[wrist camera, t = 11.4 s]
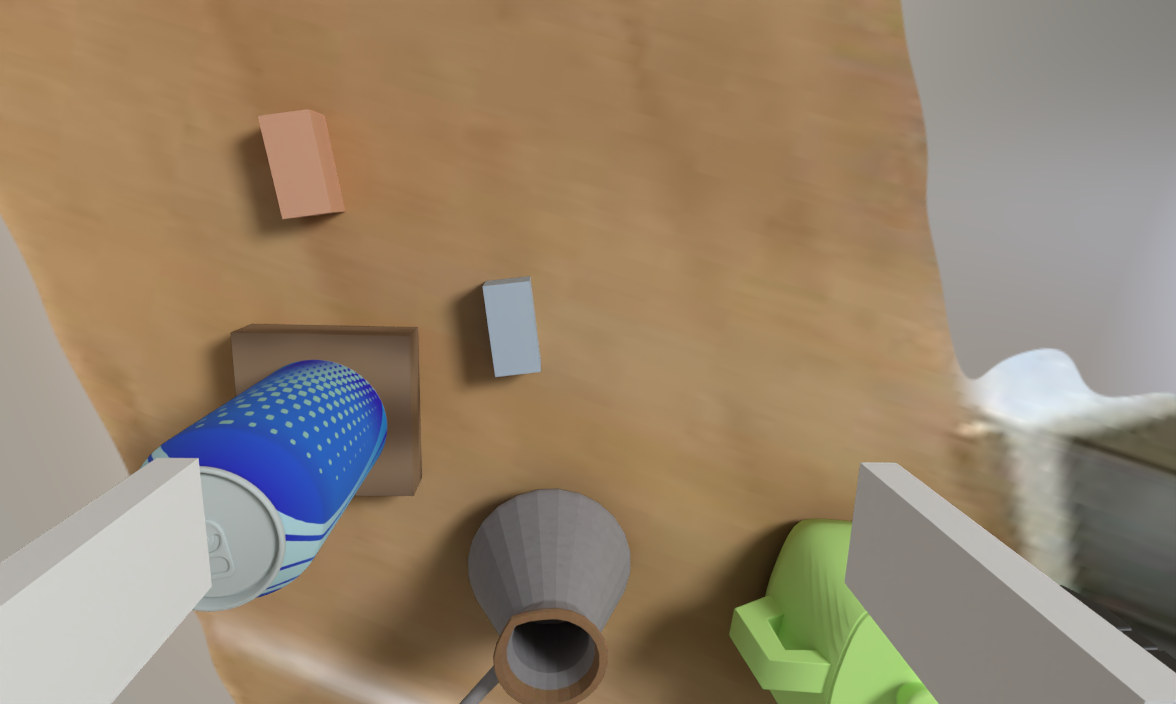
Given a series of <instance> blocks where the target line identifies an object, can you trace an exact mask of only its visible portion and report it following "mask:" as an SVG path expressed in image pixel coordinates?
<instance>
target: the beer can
mask: <svg viewBox="0 0 1176 704" xmlns="http://www.w3.org/2000/svg"><path fill="white" fill-rule="evenodd" d="M386 436H387V418H386V413H385V409H384V406H383V404H382V401H381V399H380V398H379V396H378V394H377V393H376V391H375V390H374V388H373V387H372V386H371V385H370V384H369V383H368V382H367V381H366V380H365V379H364V378H363V377H362V376H361V375H359V374H358V373H356V372H355V371H353V370H352V369H350V368H348V367H346V366H343V365H341V364H338V363H335V362H331V361H325V360H304V361H298V362H294V363H291V364H288V365H286V366H284V367H282V368H280V369H278V370H277V371H275V372H273V373H272V374H270V375H269V376H267V377H266V378H264V379H263V380H261V381H259V382H258V383H256V384H255V385H253V386H252V387H250V388H249V389H247V390H245V391H244V392H242V393H241V394H239V395H238V396H236V397H235V398H233V399H231V400H230V401H228V402H227V403H225V404H224V405H222V406H221V407H219V408H217V409H216V410H214V411H213V412H211V413H210V414H208V415H207V416H205V417H203V418H202V419H200V420H199V421H197V422H196V423H194V424H193V425H191V426H189V427H188V428H186V429H185V430H183V431H182V432H180V433H179V434H177V435H175V436H174V437H172V438H171V439H169V440H168V441H166V442H165V443H163V444H162V445H161V446H160V447H158V448H157V449H156V450H155V451H154V452H153V453H152V454H151V455H150V456H149V457H148V458H147V459H146V461H145V462H144V463H143V465H142V466H141V468H142V467H144V466H145V465H147V464H148V463H150V462H151V461H153V460H154V459H156V458H198V459H199V468H200V478H201V487H202V497H203V506H204V515H205V525H206V534H207V544H208V553H209V563H210V572H211V582H212V587H211V588H210V589H209V591H208V592H207V593H206V594H205V595H204V596H203V598H202V599H201V600H200V601H199V602H198V603H197V605H196V606H195V607H194V608H193V609H192V610H195V611H208V612H210V611H222V610H228V609H232V608H235V607H238V606H241V605H243V604H246V603H248V602H249V601H251V600H253V599H255V598H257V597H261V596H264V595H267V594H270V593H272V592H275V591H277V590H279V589H281V588H282V587H284V586H286V585H288V584H289V583H291V582H292V581H293V580H295V579H296V578H297V577H298V576H299V575H300V574H301V573H302V572H303V571H304V570H305V569H306V568H307V567H308V566H309V564H310V563H311V562H312V560H313V559H314V557H315V556H316V554H317V553H318V551H319V550H320V548H321V546H322V545H323V543H324V542H325V540H326V539H327V537H328V536H329V534H330V532H331V531H332V529H333V528H334V526H335V525H336V523H337V521H338V520H339V518H340V517H341V515H342V514H343V512H344V511H345V509H346V507H347V506H348V504H349V503H350V501H351V500H352V498H353V497H354V495H355V493H356V492H357V490H358V489H359V487H360V486H361V484H362V483H363V481H364V479H365V478H366V476H367V475H368V473H369V472H370V470H371V469H372V467H373V465H374V464H375V462H376V461H377V459H378V458H379V456H380V454H381V452H382V450H383V447H384V445H385V441H386ZM141 468H140V469H141Z"/></svg>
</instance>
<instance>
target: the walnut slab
mask: <svg viewBox="0 0 1176 704" xmlns="http://www.w3.org/2000/svg"><path fill="white" fill-rule="evenodd" d="M231 344H232V356H233V367H234V378H235V389H236V396H238V395H239V394H241V393H242V392H244V391H245V390H247V389H249V388H250V387H252V386H253V385H255V384H256V383H258V382H259V381H261V380H263V379H264V378H266V377H267V376H269V375H270V374H272V373H273V372H275V371H277V370H278V369H280V368H282V367H284V366H286V365H288V364H291V363H294V362H298V361H304V360H325V361H331V362H335V363H338V364H341V365H343V366H346V367H348V368H350V369H352V370H353V371H355V372H356V373H358V374H359V375H361V376H362V377H363V378H364V379H365V380H366V381H367V382H368V383H369V384H370V385H371V386H372V387H373V388H374V390H375V391H376V393H377V394H378V396H379V398H380V399H381V401H382V404H383V406H384V409H385V413H386V418H387V436H386V441H385V445H384V447H383V450H382V452H381V454H380V456H379V458H378V459H377V461H376V462H375V464H374V465H373V467H372V469H371V470H370V472H369V473H368V475H367V476H366V478H365V479H364V481H363V483H362V484H361V486H360V487H359V489H358V490H357V492H356V493H355V495H354V496H414V494H415V492H416V490H417V487H418V485H419V483H420V481H421V478H422V468H421V428H420V388H419V349H418V327H377V326H327V325H277V324H250V325H248V326H245V327H243V328H241V329H238V330H236V331H234V332H231Z"/></svg>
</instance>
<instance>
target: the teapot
mask: <svg viewBox="0 0 1176 704" xmlns="http://www.w3.org/2000/svg"><path fill="white" fill-rule="evenodd" d="M851 529H852V521H845V520H832V519H806V520H802V521H800V522H799V523H797V524H796V525H795V526H794V527H793V529H792V530H791V532H790V533H789V534H788V536H787V538H786V540H785V542H784V544H783V546H782V549H781V551H780V553H779V556H778V558H777V561H776V563H775V566H774V568H773V571H772V574H771V577H770V579H769V583H768V586H767V590H766V594H765V597H763V598H760V599H758V600H755V601H752V602H750V603H747V604H744V605H742V606H739V607H736V608H734V613H733V618H732V623H731V627H730V632H729V636H730V638H731V639H732V641H733V643H734V644H735V646H736V647H737V649H738V651H739V652H740V654H741V655H742V657H743V659H744V660H745V662H746V663H747V665H748V667H749V668H750V670H751V671H752V673H753V675H754V676H755V678H756V679H757V681H758V682H759V684H760V686H761V687H762V689H765V690H770V692H771V693H772V695H773V697H774V698H775V700H776V702H777V703H778V704H939V703H938V702H937V701H936V700H935V698H934V697H933V696H932V694H931V693H930V692H929V691H928V689H927V688H926V687H925V685H924V684H923V683H922V682H921V680H920V679H919V678H918V676H917V675H916V674H915V673H914V671H913V670H912V669H911V667H910V666H909V665H908V664H907V662H906V661H905V660H904V659H903V657H902V656H901V655H900V653H899V652H898V651H897V650H896V648H895V647H894V646H893V644H892V643H891V642H890V641H889V639H888V638H887V637H886V635H885V634H884V633H883V632H882V630H881V629H880V628H879V626H878V625H877V624H876V623H875V621H874V620H873V619H872V617H871V616H870V615H869V614H868V612H867V611H866V610H865V608H864V607H863V606H862V605H861V603H860V602H859V601H858V600H857V598H856V597H855V596H854V594H853V593H852V592H851V591H850V589H849V588H848V587H847V585H846V584H845V583H844V581H845V573H846V566H847V559H848V551H849V544H850V536H851Z"/></svg>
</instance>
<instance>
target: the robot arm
mask: <svg viewBox="0 0 1176 704" xmlns="http://www.w3.org/2000/svg"><path fill="white" fill-rule="evenodd" d="M844 583H845V584H846V585H847V587H848V588H849V589H850V591H851V592H852V593H853V594H854V596H855V597H856V598H857V600H858V601H859V602H860V603H861V605H862V606H863V607H864V608H865V610H866V611H867V612H868V614H869V615H870V616H871V617H872V619H873V620H874V621H875V623H876V624H877V625H878V626H879V628H880V629H881V630H882V632H883V633H884V634H885V635H886V637H887V638H888V639H889V641H890V642H891V643H892V644H893V646H894V647H895V648H896V650H897V651H898V652H899V653H900V655H901V656H902V657H903V659H904V660H905V661H906V662H907V664H908V665H909V666H910V667H911V669H912V670H913V671H914V673H915V674H916V675H917V676H918V678H919V679H920V680H921V682H922V683H923V684H924V685H925V687H926V688H927V689H928V691H929V692H930V693H931V694H932V696H933V697H934V698H935V700H936V701H937V702H938V703H939V704H1176V659H1174V658H1173V657H1172V656H1170V655H1169V654H1168V653H1166V652H1165V651H1159V650H1158V649H1157V645H1155V644H1154V643H1153V642H1151V641H1150V640H1148V639H1147V638H1146V637H1144V636H1143V635H1142V634H1140V633H1139V632H1137V631H1132V630H1131V626H1129V625H1128V624H1127V623H1125V622H1124V621H1122V620H1121V619H1120V618H1118V617H1117V616H1116V615H1114V614H1113V613H1111V612H1110V611H1109V610H1107V609H1106V608H1105V607H1103V606H1102V605H1101V604H1099V603H1097V602H1095V601H1093V600H1091V599H1089V598H1087V597H1085V596H1083V595H1081V594H1079V593H1077V592H1075V591H1073V590H1071V589H1068V588H1066V587H1064V586H1062V585H1058V584H1057V583H1055V582H1054V581H1053V580H1051V579H1050V578H1049V577H1047V576H1046V575H1045V574H1043V573H1042V572H1041V571H1039V570H1038V569H1037V568H1035V567H1034V566H1033V565H1032V564H1030V563H1029V562H1028V561H1026V560H1025V559H1024V558H1022V557H1021V556H1020V555H1018V554H1017V553H1016V552H1014V551H1013V550H1012V549H1010V548H1009V547H1008V546H1006V545H1005V544H1004V543H1002V542H1001V541H1000V540H998V539H997V538H996V537H994V536H993V535H992V534H990V533H989V532H988V531H986V530H985V529H984V528H982V527H981V526H980V525H978V524H977V523H976V522H974V521H973V520H972V519H970V518H969V517H968V516H966V515H965V514H964V513H962V512H961V511H960V510H958V509H957V508H956V507H954V506H953V505H952V504H950V503H949V502H948V501H946V500H945V499H944V498H942V497H941V496H940V495H938V494H937V493H936V492H934V491H933V490H932V489H930V488H929V487H928V486H926V485H925V484H924V483H922V482H921V481H920V480H918V479H917V478H916V477H914V476H913V475H912V474H910V473H909V472H908V471H906V470H905V469H904V468H902V467H901V466H900V465H898V464H897V463H860V469H859V476H858V484H857V491H856V499H855V506H854V514H853V521H852V529H851V536H850V544H849V551H848V559H847V566H846V573H845V581H844ZM211 587H212V582H211V572H210V563H209V553H208V544H207V534H206V525H205V515H204V506H203V497H202V487H201V478H200V468H199V459H198V458H156V459H154V460H153V461H151V462H150V463H148V464H147V465H145V466H144V467H142V468H141V469H139V470H138V471H136V472H135V473H133V474H132V475H130V476H129V477H127V478H126V479H124V480H123V481H122V482H120V483H118V484H117V485H115V486H114V487H112V488H111V489H110V490H108V491H107V492H105V493H103V494H102V495H100V496H99V497H97V498H96V499H94V500H93V501H91V502H90V503H89V504H87V505H86V506H84V507H83V508H81V509H80V510H78V511H77V512H75V513H74V514H72V515H71V516H69V517H68V518H66V519H65V520H63V521H62V522H60V523H59V524H57V525H56V526H54V527H53V528H51V529H50V530H48V531H47V532H45V533H44V534H42V535H41V536H39V537H38V538H36V539H35V540H33V541H32V542H30V543H29V544H27V545H26V546H24V547H23V548H21V549H20V550H18V551H17V552H15V553H14V554H12V555H11V556H9V557H8V558H6V559H5V560H3V561H2V562H0V704H111V703H112V702H113V701H114V700H115V699H116V698H117V696H118V695H119V694H120V693H121V692H122V691H123V689H124V688H125V687H126V686H127V685H128V684H129V682H130V681H131V680H132V679H133V678H134V677H135V676H136V674H137V673H138V672H139V671H140V670H141V668H142V667H143V666H144V665H145V664H146V663H147V662H148V660H149V659H150V658H151V657H152V656H153V655H154V653H155V652H156V651H157V650H158V649H159V648H160V646H161V645H162V644H163V643H164V642H165V641H166V639H167V638H168V637H169V636H170V635H171V634H172V632H173V631H174V630H175V629H176V628H177V626H178V625H179V624H180V623H181V622H182V621H183V620H184V618H185V617H186V616H187V615H188V614H189V613H190V611H191V610H192V609H193V608H194V607H195V606H196V605H197V603H198V602H199V601H200V600H201V599H202V598H203V596H204V595H205V594H206V593H207V592H208V591H209V589H210V588H211Z"/></svg>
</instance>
